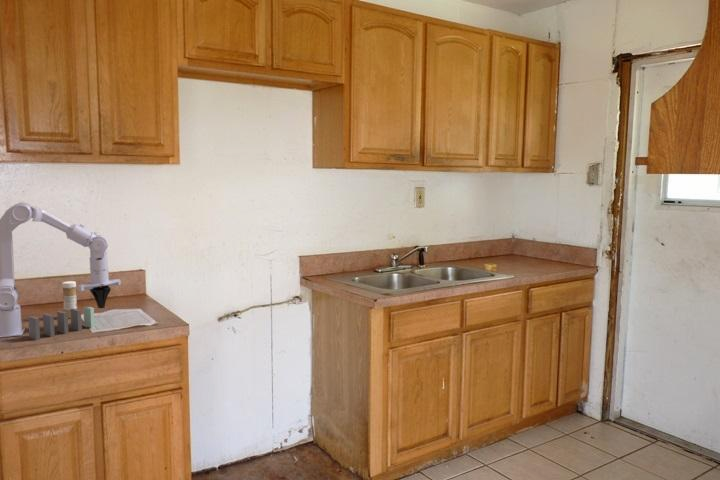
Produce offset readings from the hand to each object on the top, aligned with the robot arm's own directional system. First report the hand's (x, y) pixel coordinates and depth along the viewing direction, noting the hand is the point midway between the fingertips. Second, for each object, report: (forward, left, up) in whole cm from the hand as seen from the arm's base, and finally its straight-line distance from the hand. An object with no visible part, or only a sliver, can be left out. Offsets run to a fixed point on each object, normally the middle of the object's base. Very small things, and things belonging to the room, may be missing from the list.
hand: (101, 307), depth 198 cm
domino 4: (-8, -5, -6) cm, 11 cm away
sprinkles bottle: (-11, +16, -6) cm, 20 cm away
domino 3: (-12, -7, -6) cm, 15 cm away
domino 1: (-20, -11, -6) cm, 23 cm away
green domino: (-4, -2, -6) cm, 8 cm away
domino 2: (-16, -9, -6) cm, 19 cm away
